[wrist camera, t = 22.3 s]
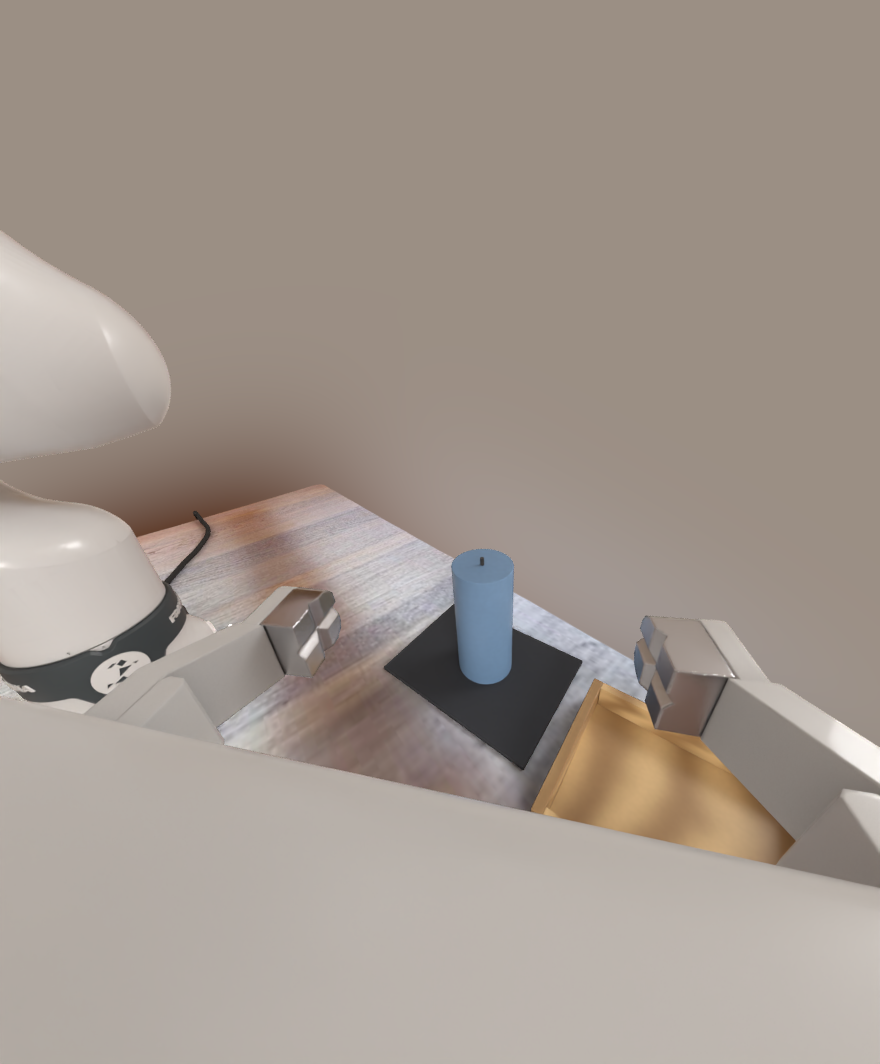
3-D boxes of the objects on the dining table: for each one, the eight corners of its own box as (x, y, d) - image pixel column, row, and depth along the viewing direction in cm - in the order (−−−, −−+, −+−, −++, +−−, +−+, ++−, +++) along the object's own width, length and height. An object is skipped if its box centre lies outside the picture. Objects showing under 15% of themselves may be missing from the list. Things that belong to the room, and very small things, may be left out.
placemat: (384, 669, 40) (383, 666, 40) (456, 604, 49) (456, 601, 49) (523, 770, 29) (523, 768, 29) (581, 662, 38) (582, 660, 38)
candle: (448, 666, 39) (438, 562, 32) (478, 635, 43) (474, 536, 36) (493, 694, 35) (491, 584, 28) (521, 657, 39) (525, 552, 32)
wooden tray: (529, 827, 26) (530, 808, 24) (590, 697, 34) (594, 678, 33) (827, 1075, 16) (857, 1067, 15) (806, 809, 25) (823, 789, 24)
